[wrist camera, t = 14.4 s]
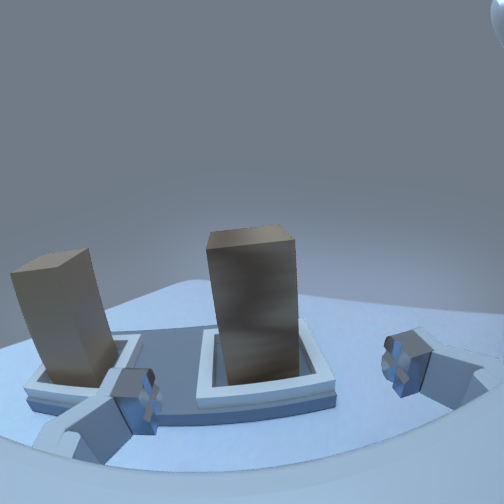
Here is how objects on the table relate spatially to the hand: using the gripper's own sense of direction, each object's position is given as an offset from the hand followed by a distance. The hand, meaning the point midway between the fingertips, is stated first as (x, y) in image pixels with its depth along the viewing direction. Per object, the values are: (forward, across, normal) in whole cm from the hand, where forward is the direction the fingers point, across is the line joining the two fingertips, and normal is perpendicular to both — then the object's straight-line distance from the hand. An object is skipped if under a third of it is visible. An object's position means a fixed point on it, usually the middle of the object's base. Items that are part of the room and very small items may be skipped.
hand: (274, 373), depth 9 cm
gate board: (+12, +7, +9) cm, 16 cm away
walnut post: (+11, 0, +8) cm, 13 cm away
